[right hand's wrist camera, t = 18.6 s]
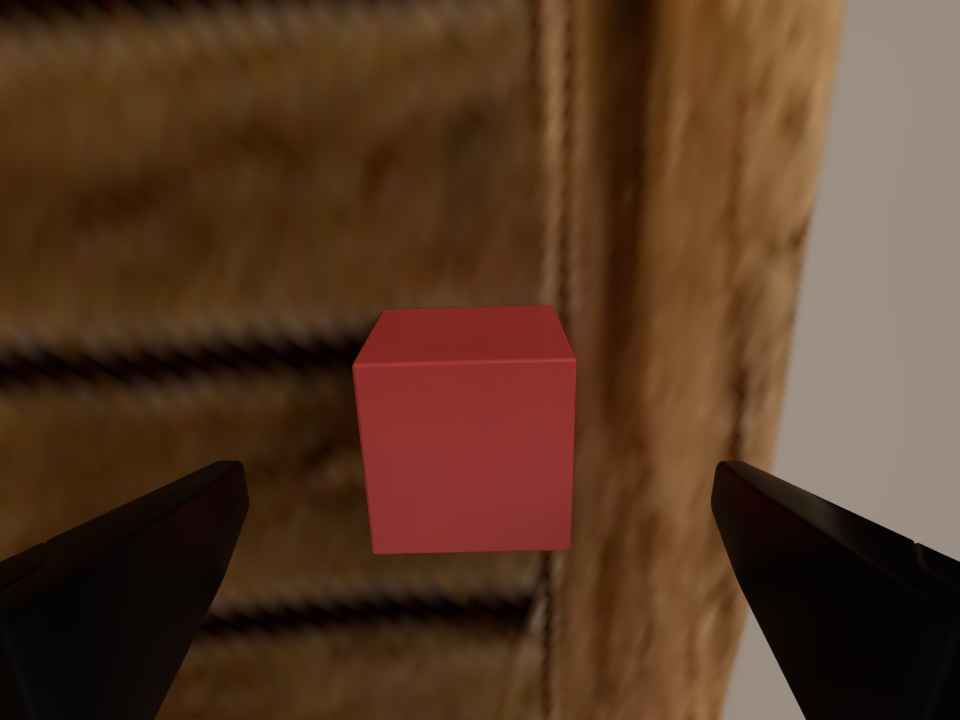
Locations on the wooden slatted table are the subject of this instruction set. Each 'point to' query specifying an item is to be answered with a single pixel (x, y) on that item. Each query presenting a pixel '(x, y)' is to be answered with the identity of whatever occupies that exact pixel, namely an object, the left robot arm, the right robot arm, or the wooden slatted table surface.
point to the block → (467, 430)
